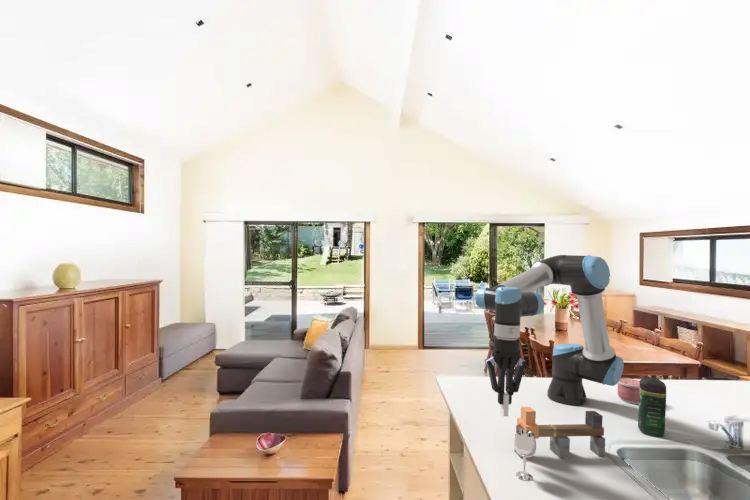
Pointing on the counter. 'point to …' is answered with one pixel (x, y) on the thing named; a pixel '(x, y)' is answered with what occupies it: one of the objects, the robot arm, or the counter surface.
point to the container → (629, 390)
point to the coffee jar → (652, 406)
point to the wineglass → (525, 450)
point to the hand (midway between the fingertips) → (504, 414)
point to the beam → (562, 442)
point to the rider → (528, 420)
